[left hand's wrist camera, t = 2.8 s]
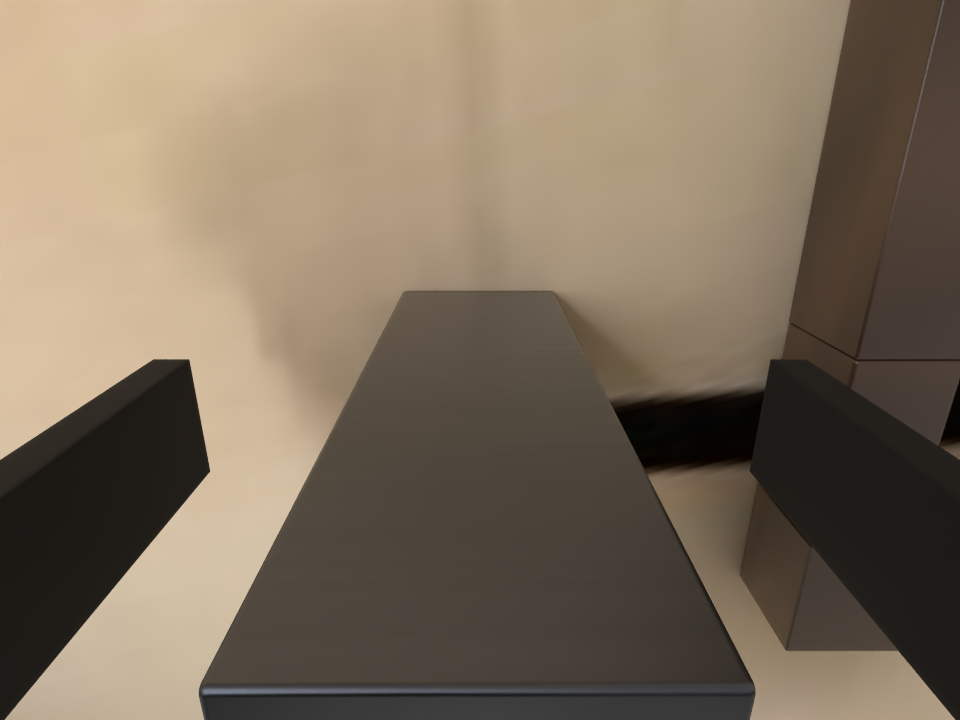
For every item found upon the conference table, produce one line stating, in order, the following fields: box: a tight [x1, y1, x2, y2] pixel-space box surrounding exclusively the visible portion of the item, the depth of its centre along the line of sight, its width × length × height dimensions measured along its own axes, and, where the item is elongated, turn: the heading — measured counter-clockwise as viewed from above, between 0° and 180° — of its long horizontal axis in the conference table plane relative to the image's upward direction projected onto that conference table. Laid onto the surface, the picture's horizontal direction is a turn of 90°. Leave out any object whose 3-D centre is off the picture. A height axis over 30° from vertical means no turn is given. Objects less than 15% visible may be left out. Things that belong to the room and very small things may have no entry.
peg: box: [199, 291, 755, 720], centre depth 10 cm, size 4×4×12 cm
